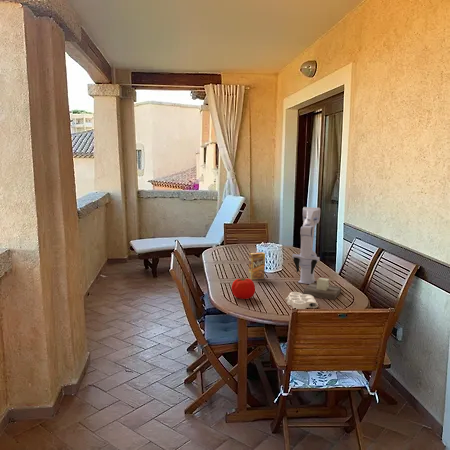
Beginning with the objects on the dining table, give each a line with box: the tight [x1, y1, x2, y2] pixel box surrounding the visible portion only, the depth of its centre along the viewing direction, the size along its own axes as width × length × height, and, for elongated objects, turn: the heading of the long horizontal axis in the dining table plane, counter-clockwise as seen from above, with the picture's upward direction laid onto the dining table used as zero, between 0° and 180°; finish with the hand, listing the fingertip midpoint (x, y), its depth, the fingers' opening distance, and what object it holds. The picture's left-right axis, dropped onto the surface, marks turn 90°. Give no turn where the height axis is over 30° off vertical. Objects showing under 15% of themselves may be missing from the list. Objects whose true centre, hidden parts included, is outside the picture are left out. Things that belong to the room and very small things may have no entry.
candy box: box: [247, 251, 266, 281], centre depth 240 cm, size 9×4×15 cm, turn 115°
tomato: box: [231, 276, 256, 300], centre depth 204 cm, size 12×12×10 cm
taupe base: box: [302, 282, 342, 301], centre depth 215 cm, size 16×16×2 cm
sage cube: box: [316, 277, 330, 291], centre depth 215 cm, size 5×5×5 cm
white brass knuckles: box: [284, 291, 319, 310], centre depth 198 cm, size 3×18×15 cm
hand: (304, 272), depth 220 cm, fingers open, 7 cm apart
